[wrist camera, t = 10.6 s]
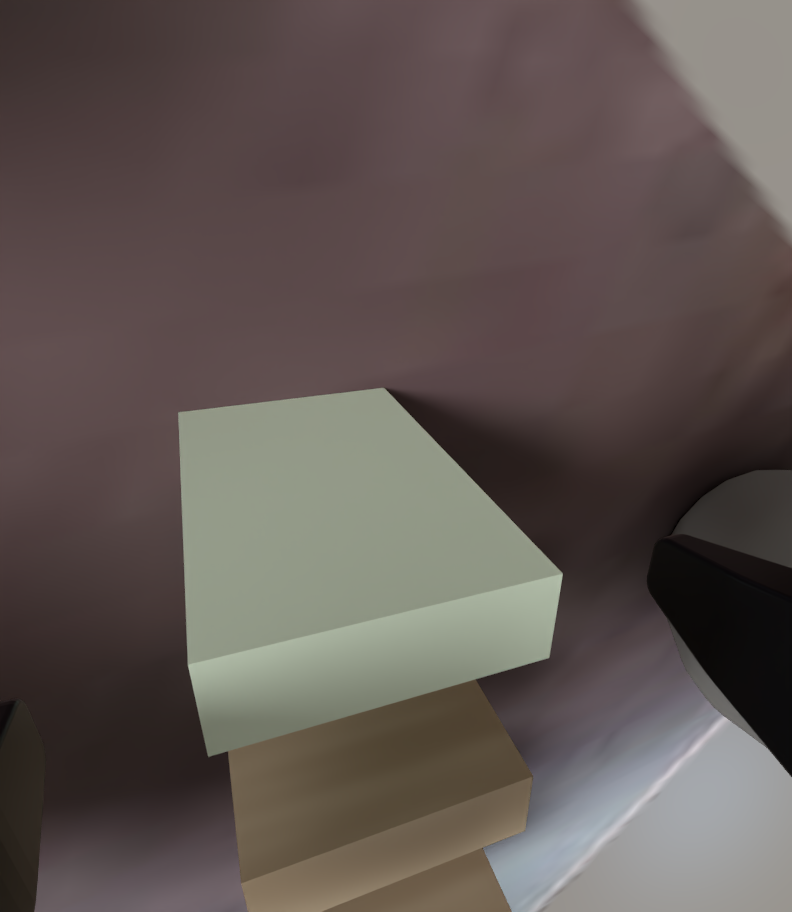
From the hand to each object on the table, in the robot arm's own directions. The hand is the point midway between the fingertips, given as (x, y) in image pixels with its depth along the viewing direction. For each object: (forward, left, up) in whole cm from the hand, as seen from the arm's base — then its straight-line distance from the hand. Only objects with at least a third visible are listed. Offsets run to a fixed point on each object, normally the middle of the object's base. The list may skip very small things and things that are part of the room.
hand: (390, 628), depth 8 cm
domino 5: (0, 0, -8) cm, 8 cm away
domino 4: (-4, -1, -8) cm, 9 cm away
